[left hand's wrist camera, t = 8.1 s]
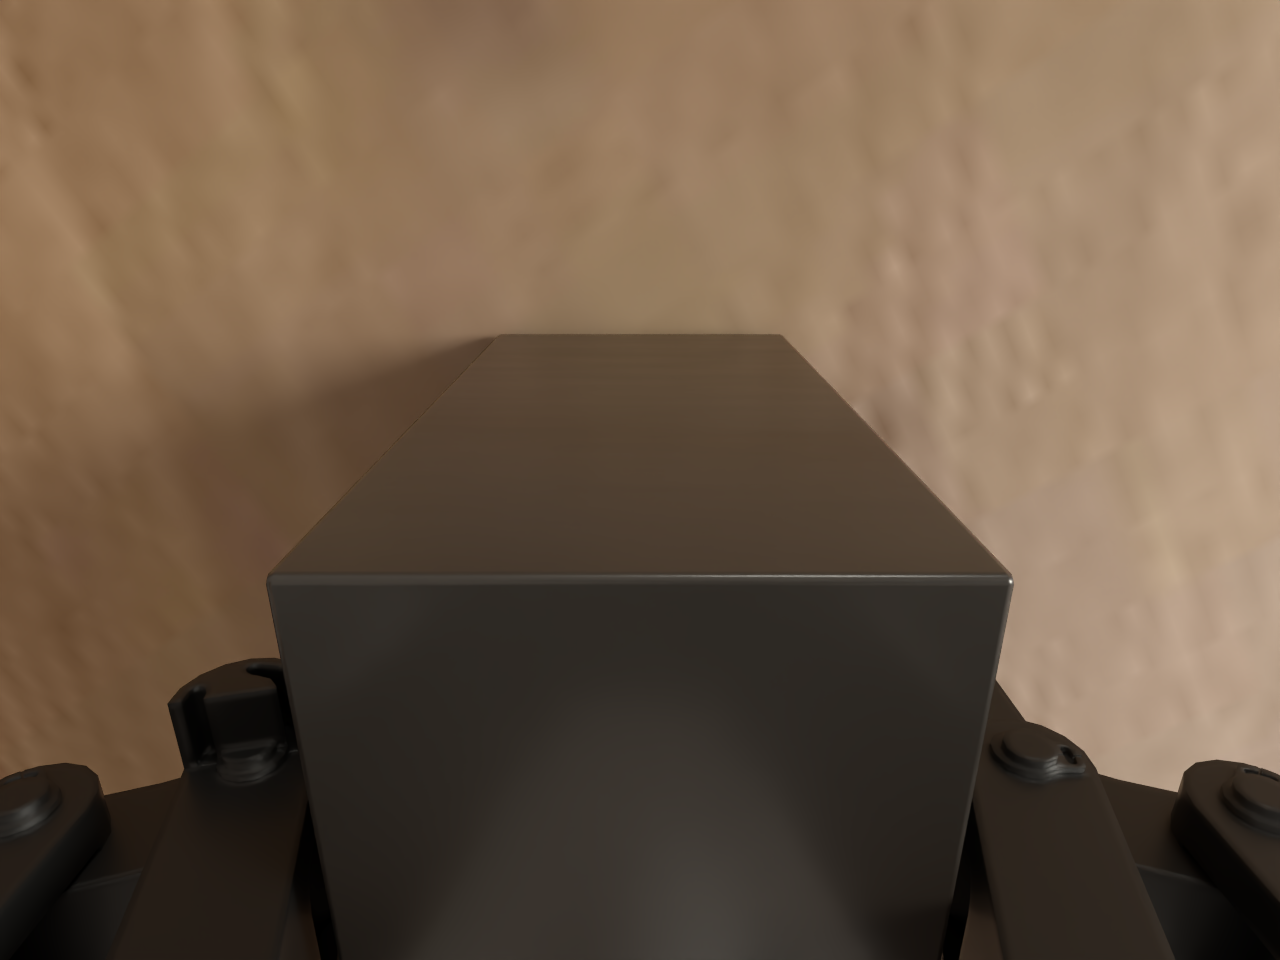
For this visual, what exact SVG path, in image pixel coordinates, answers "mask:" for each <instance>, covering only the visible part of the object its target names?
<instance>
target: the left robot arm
mask: <svg viewBox="0 0 1280 960" xmlns="http://www.w3.org/2000/svg"><path fill="white" fill-rule="evenodd" d="M168 708H169V712H170V716H171V719H172V723H173V727H174V731H175V735H176V739H177V742H178V746H179V750H180V754H181V758H182V761H183V765H184V771H183V774H182V776H181V778H178V779H174V780H171V781H167V782H164V783H160V784H155V785H151V786H146V787H141V788H137V789H132V790H128V791H123V792H118V793H114V794H109V795H105V796H104V794H103V791H102V788H101V784H100V781H99V778H98V775H97V774H95V773H94V772H93V771H92V770H90V769H89V768H88V767H87V766H83V765H76V764H69V763H60V764H53V765H45V766H38V767H35V768H31V769H27V770H24V771H22V772H17V773H15V774H12V775H9V776H7V777H5V778H3V779H1V780H0V960H339V956H338V951H337V946H336V941H335V936H334V931H333V926H332V920H331V915H330V910H329V905H328V900H327V895H326V890H325V884H324V879H323V874H322V869H321V864H320V859H319V853H318V848H317V843H316V838H315V833H314V828H313V823H312V817H311V812H310V807H309V802H308V797H307V792H306V787H305V781H304V776H303V771H302V766H301V761H300V756H299V750H298V745H297V740H296V735H295V730H294V725H293V720H292V714H291V709H290V704H289V699H288V694H287V689H286V684H285V678H284V673H283V668H282V663H281V659H277V658H258V659H248V660H243V661H239V662H234V663H230V664H225V665H223V666H221V667H218V668H216V669H213V670H211V671H209V672H206V673H204V674H201V675H200V676H198V677H197V678H195V679H194V680H192V681H191V682H189V683H188V684H186V685H185V686H183V687H182V688H180V689H179V690H178V692H177V693H176V694H175V695H174V697H173V698H172V699H171V700H170V701H169V703H168ZM941 960H1280V775H1278V774H1276V773H1273V772H1271V771H1268V770H1265V769H1263V768H1261V769H1260V768H1258V767H1256V766H1252V765H1248V764H1245V763H1238V762H1231V761H1223V760H1211V761H1204V762H1197V763H1195V764H1194V765H1192V766H1191V767H1190V768H1189V769H1187V770H1186V771H1185V772H1184V774H1183V777H1182V780H1181V784H1180V787H1179V790H1178V793H1177V792H1173V791H1168V790H1163V789H1159V788H1154V787H1150V786H1145V785H1140V784H1136V783H1131V782H1127V781H1122V780H1118V779H1114V778H1111V777H1107V776H1104V775H1100V774H1098V772H1097V770H1096V768H1095V766H1094V765H1093V763H1092V762H1091V761H1090V759H1089V758H1088V756H1087V755H1086V753H1085V752H1084V751H1083V750H1082V749H1080V748H1079V747H1078V746H1076V745H1075V744H1074V743H1073V742H1071V741H1070V740H1069V739H1067V738H1066V737H1065V736H1063V735H1061V734H1058V733H1056V732H1054V731H1052V730H1050V729H1048V728H1046V727H1044V726H1042V725H1038V724H1034V723H1030V722H1026V721H1025V720H1024V718H1023V717H1022V716H1021V714H1020V713H1019V711H1018V710H1017V709H1016V707H1015V706H1014V704H1013V703H1012V702H1011V700H1010V699H1009V697H1008V696H1007V695H1006V693H1005V692H1004V691H1003V689H1002V688H1001V686H1000V685H999V684H998V682H997V681H996V679H995V684H994V689H993V694H992V699H991V704H990V709H989V715H988V720H987V725H986V730H985V735H984V740H983V745H982V751H981V756H980V761H979V766H978V771H977V776H976V781H975V787H974V792H973V797H972V802H971V807H970V812H969V817H968V823H967V828H966V833H965V838H964V843H963V848H962V854H961V859H960V864H959V869H958V874H957V879H956V884H955V890H954V895H953V900H952V905H951V910H950V915H949V920H948V926H947V931H946V936H945V941H944V946H943V951H942V956H941Z"/></svg>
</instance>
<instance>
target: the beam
mask: <svg viewBox="0 0 1280 960" xmlns="http://www.w3.org/2000/svg"><path fill="white" fill-rule="evenodd" d="M266 586H267V591H268V596H269V601H270V606H271V611H272V617H273V622H274V627H275V632H276V637H277V642H278V647H279V653H280V658H281V663H282V668H283V673H284V678H285V684H286V689H287V694H288V699H289V704H290V709H291V714H292V720H293V725H294V730H295V735H296V740H297V745H298V750H299V756H300V761H301V766H302V771H303V776H304V781H305V787H306V792H307V797H308V802H309V807H310V812H311V817H312V823H313V828H314V833H315V838H316V843H317V848H318V853H319V859H320V864H321V869H322V874H323V879H324V884H325V890H326V895H327V900H328V905H329V910H330V915H331V920H332V926H333V931H334V936H335V941H336V946H337V951H338V956H339V960H941V956H942V951H943V946H944V941H945V936H946V931H947V926H948V920H949V915H950V910H951V905H952V900H953V895H954V890H955V884H956V879H957V874H958V869H959V864H960V859H961V854H962V848H963V843H964V838H965V833H966V828H967V823H968V817H969V812H970V807H971V802H972V797H973V792H974V787H975V781H976V776H977V771H978V766H979V761H980V756H981V751H982V745H983V740H984V735H985V730H986V725H987V720H988V715H989V709H990V704H991V699H992V694H993V689H994V684H995V679H996V673H997V668H998V663H999V658H1000V653H1001V648H1002V642H1003V637H1004V632H1005V627H1006V622H1007V617H1008V612H1009V606H1010V601H1011V596H1012V591H1013V586H1014V582H1013V578H1012V574H1011V573H1010V572H1009V571H1008V570H1007V569H1006V568H1005V567H1004V566H1003V565H1002V564H1001V563H1000V562H999V561H998V560H997V559H996V558H995V557H994V555H993V554H992V553H991V552H990V551H989V550H988V549H987V548H986V547H985V546H984V545H983V544H982V543H981V542H980V541H979V540H978V539H977V538H976V537H975V536H974V535H973V534H972V533H971V531H970V530H969V529H968V528H967V527H966V526H965V525H964V524H963V523H962V522H961V521H960V520H959V519H958V518H957V517H956V516H955V515H954V514H953V513H952V512H951V511H950V510H949V509H948V508H947V506H946V505H945V504H944V503H943V502H942V501H941V500H940V499H939V498H938V497H937V496H936V495H935V494H934V493H933V492H932V491H931V490H930V489H929V488H928V487H927V486H926V485H925V484H924V483H923V481H922V480H921V479H920V478H919V477H918V476H917V475H916V474H915V473H914V472H913V471H912V470H911V469H910V468H909V467H908V466H907V465H906V464H905V463H904V462H903V461H902V460H901V459H900V458H899V456H898V455H897V454H896V453H895V452H894V451H893V450H892V449H891V448H890V447H889V446H888V445H887V444H886V443H885V442H884V441H883V440H882V439H881V438H880V437H879V436H878V435H877V434H876V432H875V431H874V430H873V429H872V428H871V427H870V426H869V425H868V424H867V423H866V422H865V421H864V420H863V419H862V418H861V417H860V416H859V415H858V414H857V413H856V412H855V411H854V410H853V409H852V407H851V406H850V405H849V404H848V403H847V402H846V401H845V400H844V399H843V398H842V397H841V396H840V395H839V394H838V393H837V392H836V391H835V390H834V389H833V388H832V387H831V386H830V385H829V384H828V382H827V381H826V380H825V379H824V378H823V377H822V376H821V375H820V374H819V373H818V372H817V371H816V370H815V369H814V368H813V367H812V366H811V365H810V364H809V363H808V362H807V361H806V360H805V358H804V357H803V356H802V355H801V354H800V353H799V352H798V351H797V350H796V349H795V348H794V347H793V346H792V345H791V344H790V343H789V342H788V341H787V340H786V339H785V338H784V337H783V336H782V335H499V336H498V337H497V338H496V339H495V340H494V341H493V342H492V343H491V344H490V345H489V346H488V347H487V348H486V349H485V350H484V351H483V352H482V353H481V354H480V355H479V356H478V357H477V358H476V359H475V360H474V361H473V362H472V364H471V365H470V366H469V367H468V368H467V369H466V370H465V371H464V372H463V373H462V374H461V375H460V376H459V377H458V378H457V379H456V380H455V381H454V382H453V383H452V384H451V385H450V386H449V387H448V388H447V389H446V390H445V391H444V393H443V394H442V395H441V396H440V397H439V398H438V399H437V400H436V401H435V402H434V403H433V404H432V405H431V406H430V407H429V408H428V409H427V410H426V411H425V412H424V413H423V414H422V415H421V416H420V417H419V418H418V419H417V420H416V422H415V423H414V424H413V425H412V426H411V427H410V428H409V429H408V430H407V431H406V432H405V433H404V434H403V435H402V436H401V437H400V438H399V439H398V440H397V441H396V442H395V443H394V444H393V445H392V446H391V447H390V448H389V449H388V451H387V452H386V453H385V454H384V455H383V456H382V457H381V458H380V459H379V460H378V461H377V462H376V463H375V464H374V465H373V466H372V467H371V468H370V469H369V470H368V471H367V472H366V473H365V474H364V475H363V476H362V477H361V478H360V480H359V481H358V482H357V483H356V484H355V485H354V486H353V487H352V488H351V489H350V490H349V491H348V492H347V493H346V494H345V495H344V496H343V497H342V498H341V499H340V500H339V501H338V502H337V503H336V504H335V505H334V506H333V507H332V509H331V510H330V511H329V512H328V513H327V514H326V515H325V516H324V517H323V518H322V519H321V520H320V521H319V522H318V523H317V524H316V525H315V526H314V527H313V528H312V529H311V530H310V531H309V532H308V533H307V534H306V535H305V536H304V538H303V539H302V540H301V541H300V542H299V543H298V544H297V545H296V546H295V547H294V548H293V549H292V550H291V551H290V552H289V553H288V554H287V555H286V556H285V557H284V558H283V559H282V560H281V561H280V562H279V563H278V564H277V565H276V567H275V568H274V569H273V570H272V571H271V572H270V573H269V574H268V577H267V582H266Z"/></svg>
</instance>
